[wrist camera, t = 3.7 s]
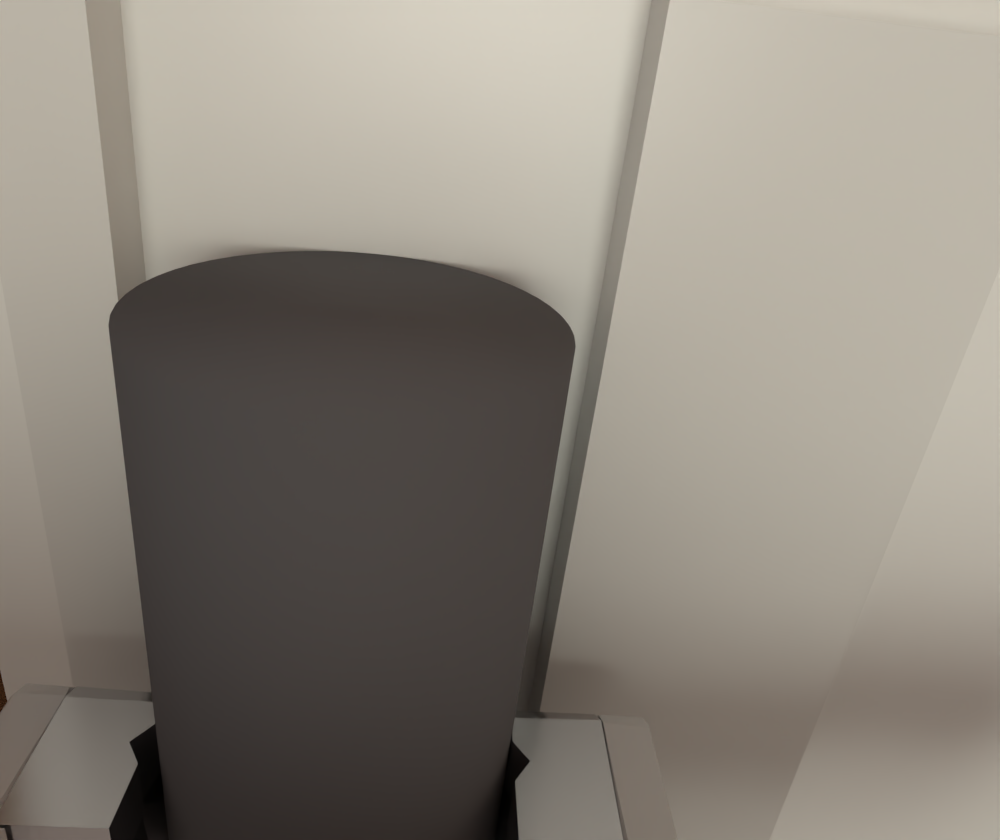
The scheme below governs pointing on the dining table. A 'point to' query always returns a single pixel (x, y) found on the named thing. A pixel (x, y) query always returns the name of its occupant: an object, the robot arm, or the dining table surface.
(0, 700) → the dining table surface
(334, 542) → the tall charcoal pillar
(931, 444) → the white ridged plate
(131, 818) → the robot arm
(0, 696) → the dining table surface
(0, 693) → the dining table surface
